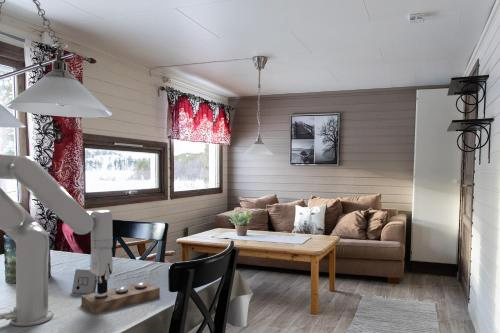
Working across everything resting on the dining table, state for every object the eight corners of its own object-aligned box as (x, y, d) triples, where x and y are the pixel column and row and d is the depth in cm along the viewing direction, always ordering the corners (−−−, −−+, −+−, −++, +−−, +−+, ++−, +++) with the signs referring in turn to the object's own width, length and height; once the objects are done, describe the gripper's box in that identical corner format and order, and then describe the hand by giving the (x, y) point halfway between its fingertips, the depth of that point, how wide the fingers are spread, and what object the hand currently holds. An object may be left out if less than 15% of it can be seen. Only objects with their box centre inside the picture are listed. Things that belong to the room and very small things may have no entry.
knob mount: (94, 314, 136) (94, 304, 136) (81, 305, 144) (81, 295, 144) (159, 296, 154) (159, 288, 154) (144, 289, 162) (144, 281, 162)
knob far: (138, 297, 151) (138, 286, 151) (133, 294, 155) (133, 283, 155) (148, 294, 154) (148, 283, 154) (143, 292, 158) (143, 281, 158)
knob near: (97, 307, 140) (97, 295, 140) (93, 304, 143) (93, 292, 143) (109, 304, 143) (109, 292, 143) (104, 301, 147) (104, 289, 146)
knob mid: (118, 302, 146) (118, 290, 146) (113, 299, 149) (113, 287, 149) (129, 299, 149) (129, 288, 149) (124, 296, 152) (124, 285, 152)
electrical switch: (71, 292, 158) (72, 269, 159) (79, 290, 163) (80, 267, 164) (91, 294, 156) (93, 271, 157) (99, 291, 161) (100, 269, 162)
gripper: (83, 242, 146) (84, 290, 146) (100, 248, 135) (100, 300, 136) (103, 239, 151) (103, 285, 152) (120, 244, 141) (121, 295, 141)
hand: (102, 292), depth 144 cm, fingers closed
